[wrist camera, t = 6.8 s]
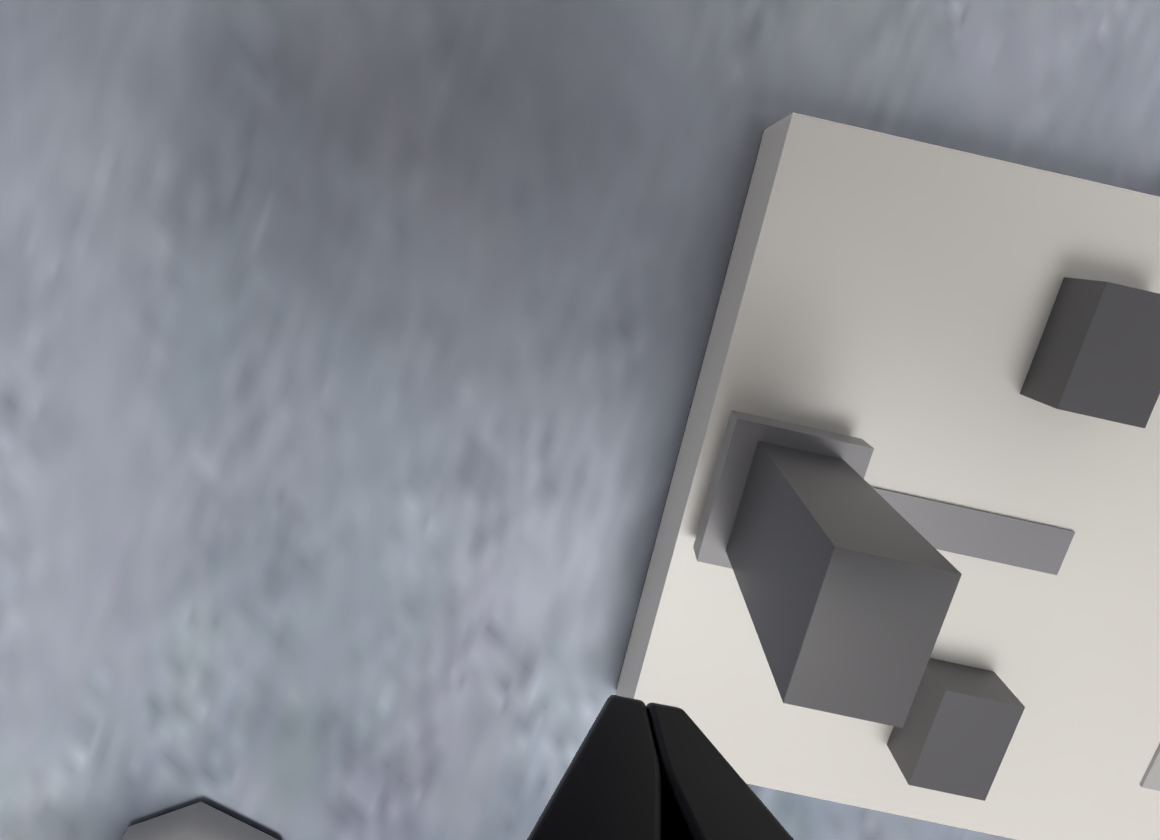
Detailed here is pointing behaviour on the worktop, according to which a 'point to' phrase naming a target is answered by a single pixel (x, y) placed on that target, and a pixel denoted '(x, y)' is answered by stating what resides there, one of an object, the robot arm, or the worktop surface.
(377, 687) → the worktop surface
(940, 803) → the panel
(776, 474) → the handle
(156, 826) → the flask
